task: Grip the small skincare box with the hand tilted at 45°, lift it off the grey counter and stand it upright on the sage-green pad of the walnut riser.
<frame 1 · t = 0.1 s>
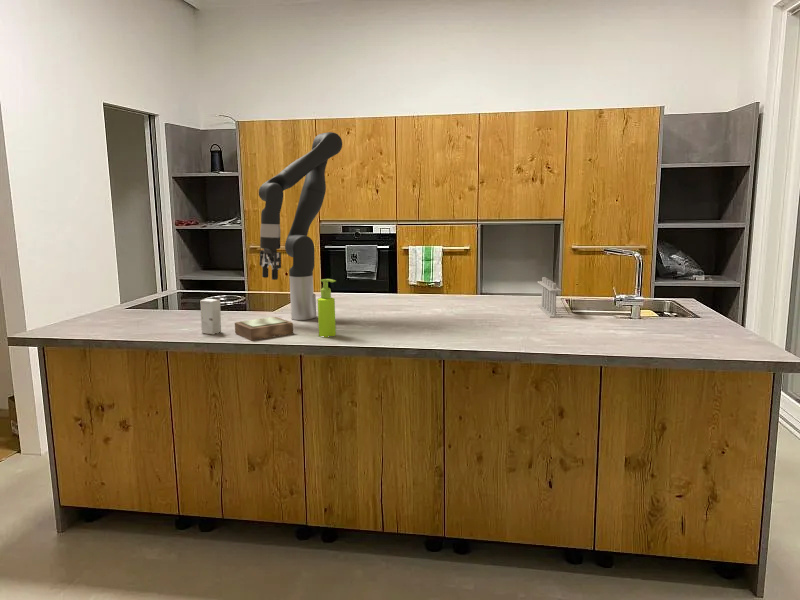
hand: (269, 278, 236), 17 cm above the worktop, tool pointing down, fingers open, 8 cm apart
test tube rack: (548, 312, 253), on the worktop
walnut riser: (264, 333, 220), on the worktop
soap dispenser: (328, 336, 216), on the worktop
skincare box: (212, 333, 223), on the worktop
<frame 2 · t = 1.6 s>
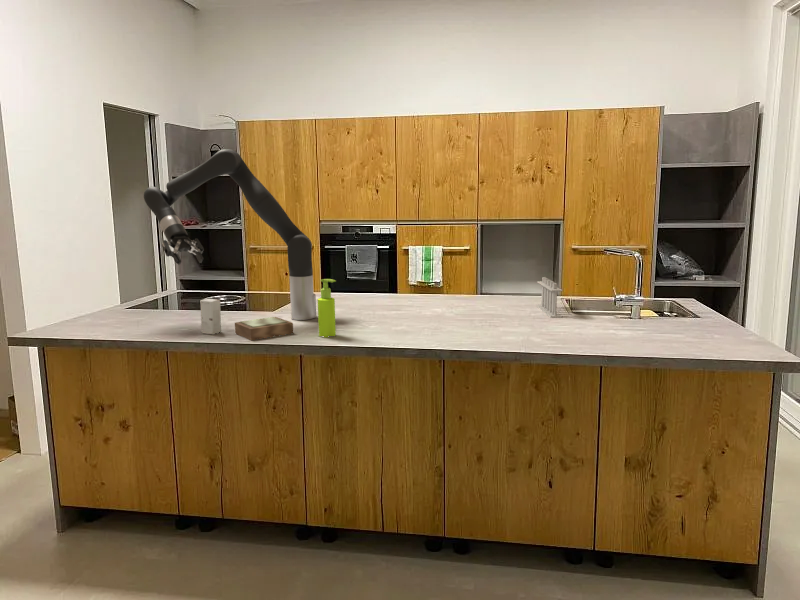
hand: (190, 262, 227), 25 cm above the worktop, tool tilted 45°, fingers open, 8 cm apart
nothing on the worktop moved.
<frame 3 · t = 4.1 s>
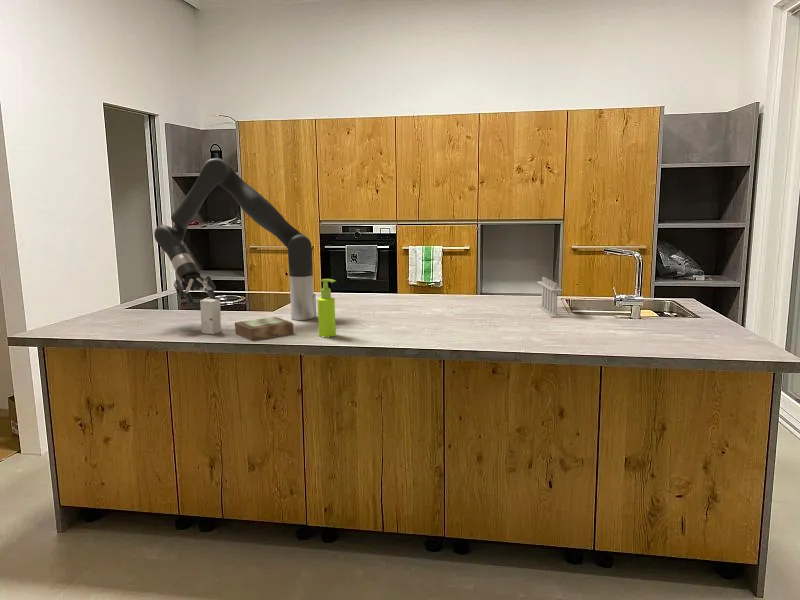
hand: (203, 301, 225), 11 cm above the worktop, tool tilted 45°, fingers open, 8 cm apart
nothing on the worktop moved.
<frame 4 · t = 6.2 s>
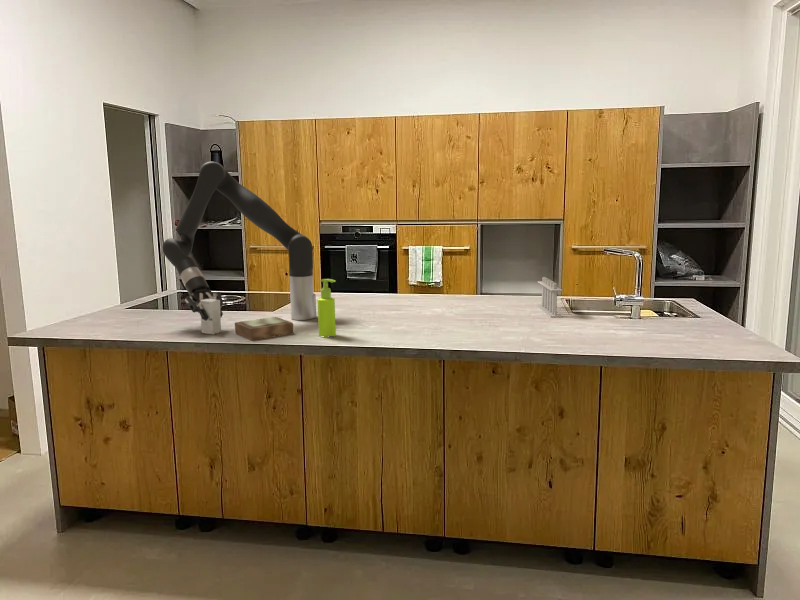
hand: (213, 317, 221), 6 cm above the worktop, tool tilted 45°, fingers closed on skincare box, 5 cm apart
skincare box: (212, 333, 223), on the worktop, touching gripper
everything else where it was.
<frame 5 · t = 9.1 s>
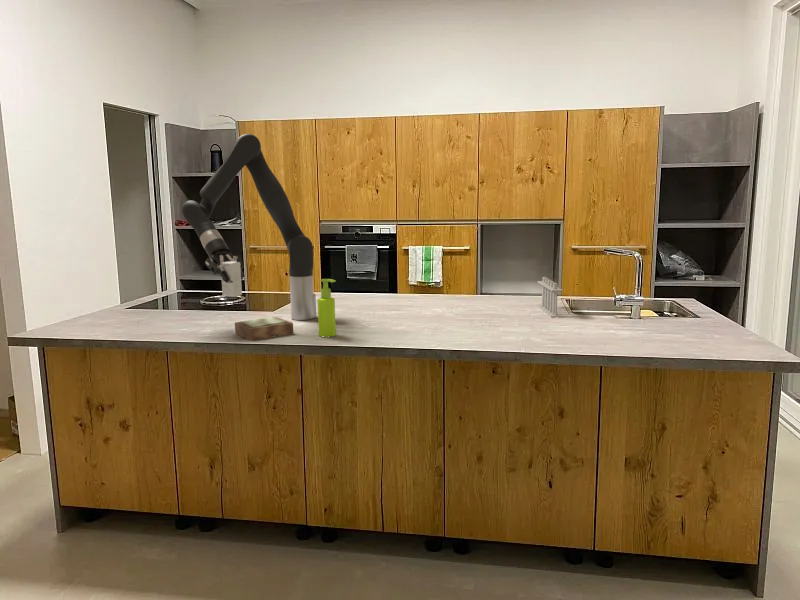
hand: (234, 279, 218), 19 cm above the worktop, tool tilted 45°, fingers closed on skincare box, 4 cm apart
skincare box: (233, 296, 220), point 13 cm above the worktop, touching gripper
everything else where it was.
when the fingers open (11 cm above the worktop, at t = 12.2 s): skincare box drops 1 cm, resting on walnut riser.
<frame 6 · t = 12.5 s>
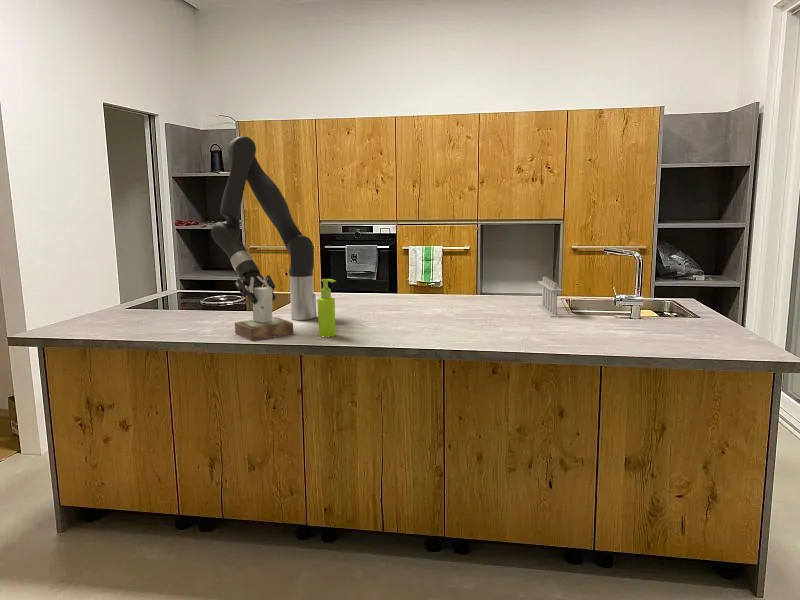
hand: (265, 301, 217), 12 cm above the worktop, tool tilted 45°, fingers open, 6 cm apart
skincare box: (263, 321, 220), point 4 cm above the worktop, touching walnut riser
everything else where it was.
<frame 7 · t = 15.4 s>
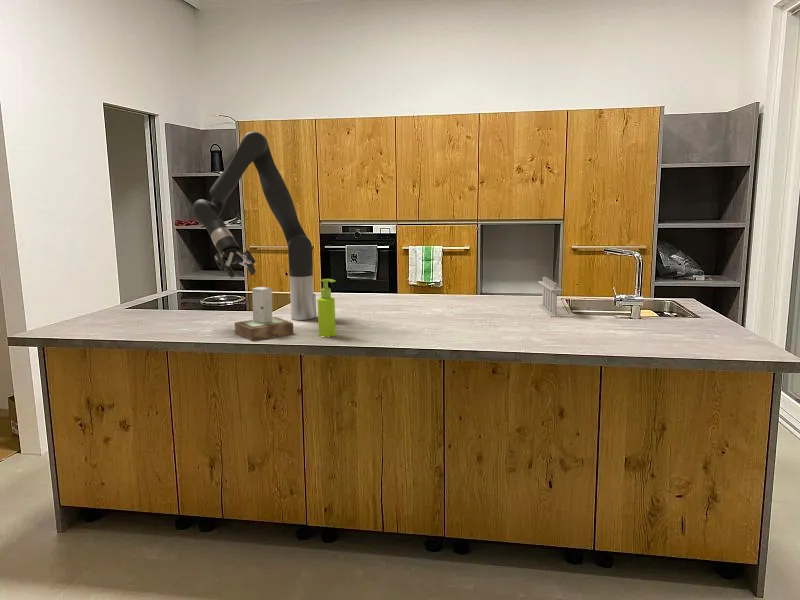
hand: (243, 275, 224), 20 cm above the worktop, tool tilted 45°, fingers open, 8 cm apart
nothing on the worktop moved.
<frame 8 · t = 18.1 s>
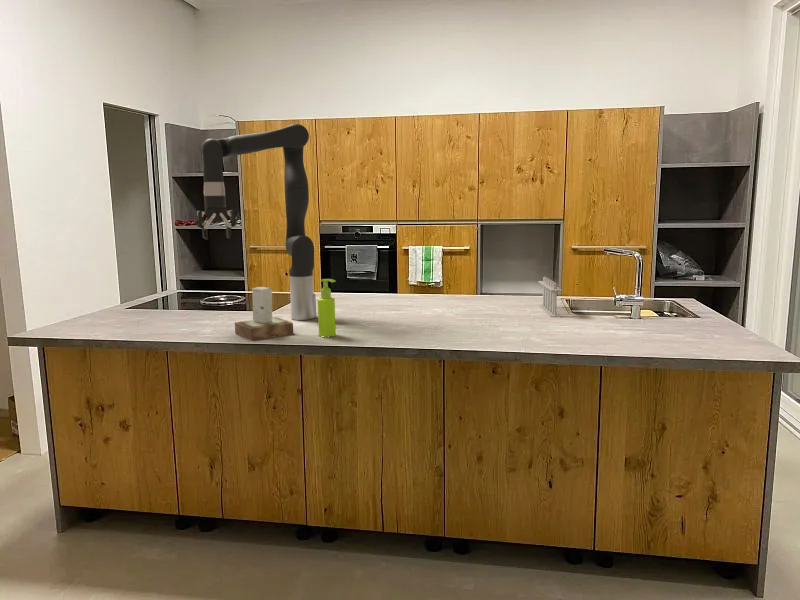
hand: (217, 238, 230), 33 cm above the worktop, tool pointing down, fingers open, 8 cm apart
nothing on the worktop moved.
at the end: skincare box inside the target area on the walnut riser (0.2 cm from its centre), point 4.2 cm above the walnut riser's base; skincare box tilted 0°; the gripper is holding nothing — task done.
